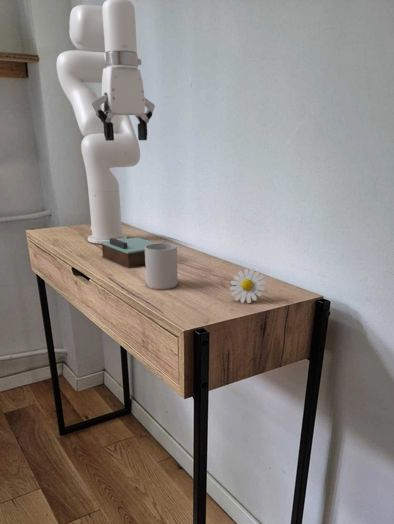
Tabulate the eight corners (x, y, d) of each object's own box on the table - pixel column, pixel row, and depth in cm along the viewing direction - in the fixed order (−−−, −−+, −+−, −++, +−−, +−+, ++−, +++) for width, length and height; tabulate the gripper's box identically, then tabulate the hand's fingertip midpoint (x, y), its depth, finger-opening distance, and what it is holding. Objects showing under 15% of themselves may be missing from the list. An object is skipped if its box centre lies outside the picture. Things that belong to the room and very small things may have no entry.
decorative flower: (226, 253, 109) (262, 269, 96) (243, 270, 112) (280, 287, 100) (205, 280, 109) (238, 299, 97) (222, 296, 113) (256, 316, 100)
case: (102, 257, 136) (101, 244, 134) (138, 251, 142) (137, 239, 141) (128, 268, 125) (127, 254, 124) (165, 261, 132) (165, 248, 130)
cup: (152, 291, 107) (150, 251, 103) (139, 279, 115) (137, 242, 112) (182, 287, 110) (181, 248, 106) (167, 276, 118) (166, 239, 114)
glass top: (101, 244, 134) (101, 236, 134) (137, 238, 141) (137, 232, 140) (127, 253, 124) (127, 246, 123) (165, 247, 130) (165, 240, 129)
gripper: (143, 67, 124) (147, 140, 130) (81, 61, 114) (88, 140, 120) (160, 63, 118) (163, 140, 125) (96, 57, 108) (103, 140, 115)
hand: (126, 140), depth 123 cm, fingers open, 9 cm apart
